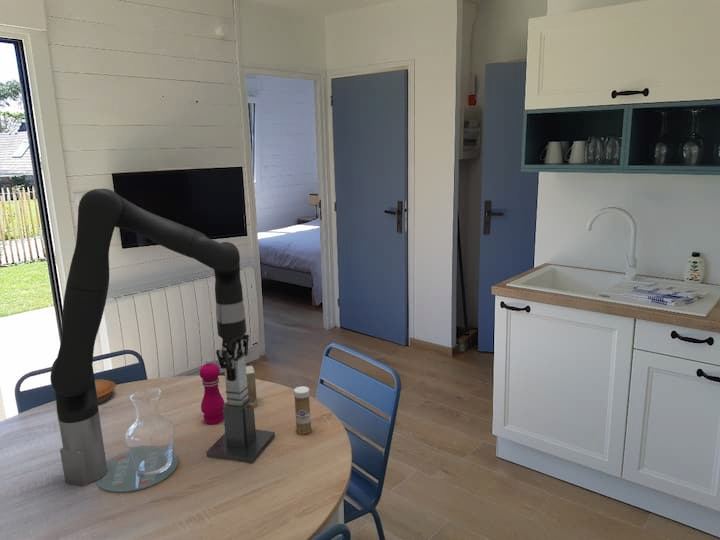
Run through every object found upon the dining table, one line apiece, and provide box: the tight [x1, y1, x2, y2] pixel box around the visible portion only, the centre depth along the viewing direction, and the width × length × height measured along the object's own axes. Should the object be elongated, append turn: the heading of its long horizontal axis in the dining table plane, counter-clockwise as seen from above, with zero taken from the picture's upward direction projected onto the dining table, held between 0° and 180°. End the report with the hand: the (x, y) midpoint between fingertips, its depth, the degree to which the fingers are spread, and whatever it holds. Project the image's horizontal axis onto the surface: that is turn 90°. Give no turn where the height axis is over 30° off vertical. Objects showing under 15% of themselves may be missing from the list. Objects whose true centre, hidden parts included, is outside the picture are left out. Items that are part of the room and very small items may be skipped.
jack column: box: [223, 353, 249, 408], centre depth 150 cm, size 4×4×20 cm
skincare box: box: [246, 365, 258, 408], centre depth 177 cm, size 6×4×12 cm
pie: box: [95, 378, 117, 405], centre depth 185 cm, size 15×16×5 cm
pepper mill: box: [199, 358, 226, 425], centre depth 167 cm, size 7×7×20 cm
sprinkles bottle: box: [293, 386, 312, 435], centre depth 159 cm, size 5×5×14 cm
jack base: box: [205, 398, 276, 464], centre depth 152 cm, size 14×14×14 cm
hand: (235, 376), depth 149 cm, fingers closed on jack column, 4 cm apart
